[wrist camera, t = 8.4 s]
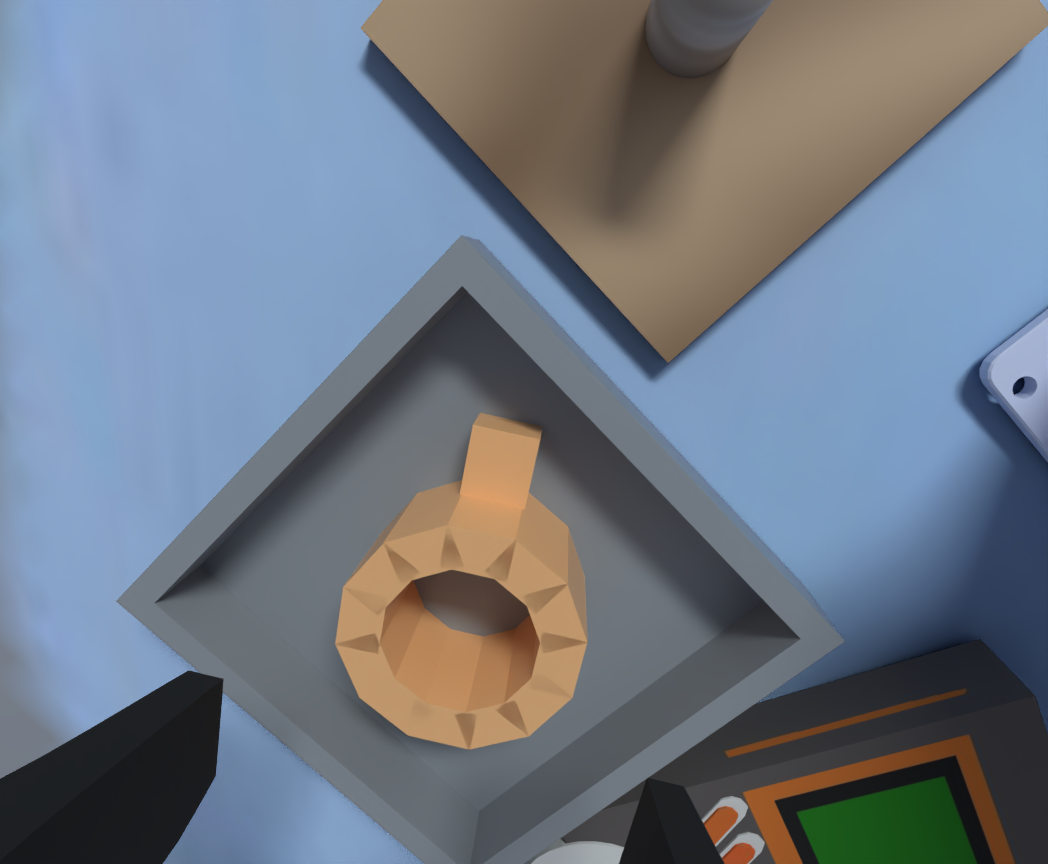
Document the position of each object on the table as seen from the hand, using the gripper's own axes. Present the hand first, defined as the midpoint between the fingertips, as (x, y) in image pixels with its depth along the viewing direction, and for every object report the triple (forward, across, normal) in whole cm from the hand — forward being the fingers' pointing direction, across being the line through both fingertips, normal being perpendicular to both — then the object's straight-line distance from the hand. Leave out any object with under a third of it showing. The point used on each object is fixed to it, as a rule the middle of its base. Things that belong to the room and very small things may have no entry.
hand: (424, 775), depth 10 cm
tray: (+7, 0, 0) cm, 7 cm away
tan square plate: (+7, -2, -14) cm, 16 cm away
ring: (+7, 0, 0) cm, 7 cm away
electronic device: (+8, -9, +6) cm, 13 cm away
